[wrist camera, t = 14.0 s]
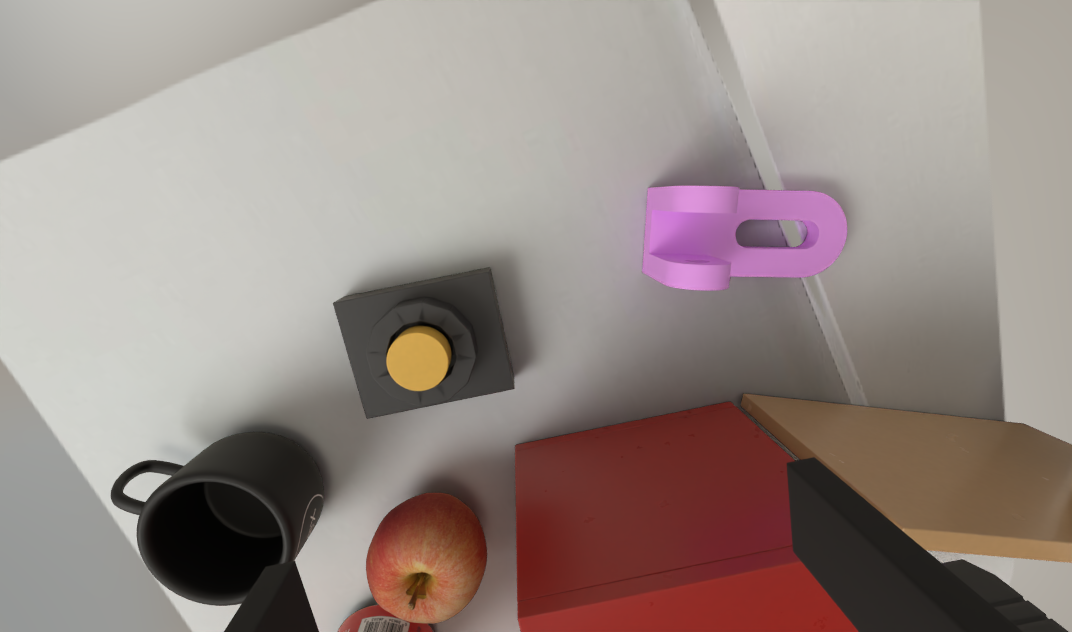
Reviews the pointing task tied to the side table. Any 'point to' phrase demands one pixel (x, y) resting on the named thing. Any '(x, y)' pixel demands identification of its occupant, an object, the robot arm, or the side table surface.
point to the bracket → (709, 235)
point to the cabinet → (662, 531)
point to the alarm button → (419, 358)
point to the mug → (225, 515)
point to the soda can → (379, 622)
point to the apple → (427, 558)
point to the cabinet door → (939, 473)
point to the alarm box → (444, 305)
